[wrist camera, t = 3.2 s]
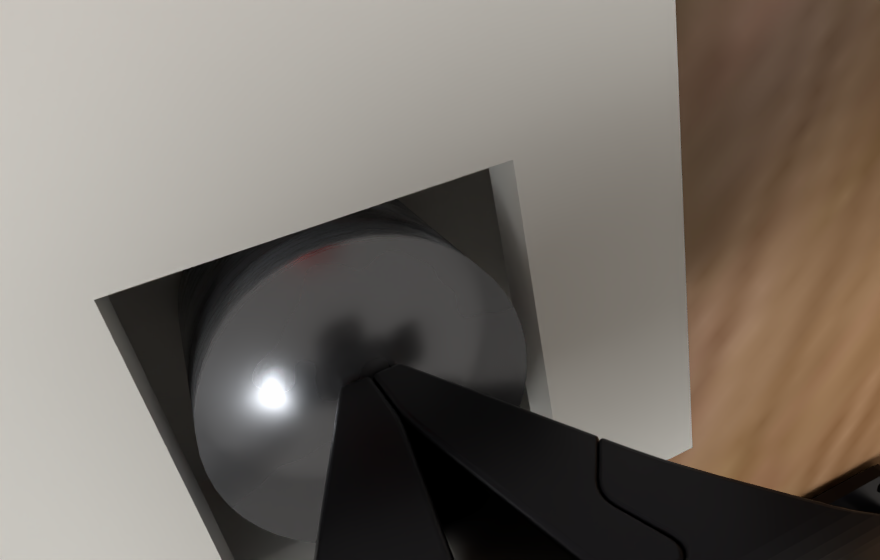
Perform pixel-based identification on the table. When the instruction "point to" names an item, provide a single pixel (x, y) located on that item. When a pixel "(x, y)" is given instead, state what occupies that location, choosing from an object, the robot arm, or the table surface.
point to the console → (315, 221)
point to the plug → (328, 347)
